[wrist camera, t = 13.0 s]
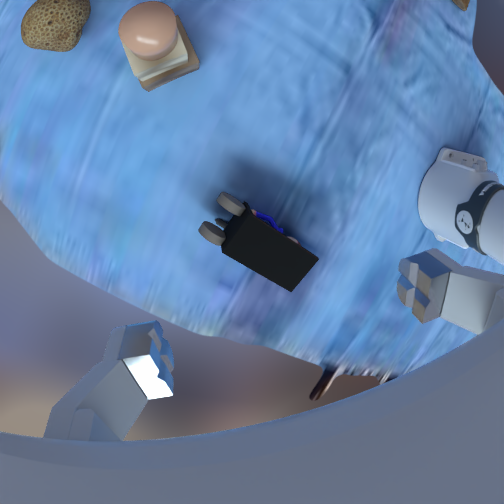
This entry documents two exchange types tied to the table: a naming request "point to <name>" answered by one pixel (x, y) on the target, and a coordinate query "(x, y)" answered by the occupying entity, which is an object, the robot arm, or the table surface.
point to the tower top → (157, 61)
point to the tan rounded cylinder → (149, 30)
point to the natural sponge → (55, 24)
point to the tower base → (177, 71)
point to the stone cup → (462, 4)
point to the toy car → (259, 244)
